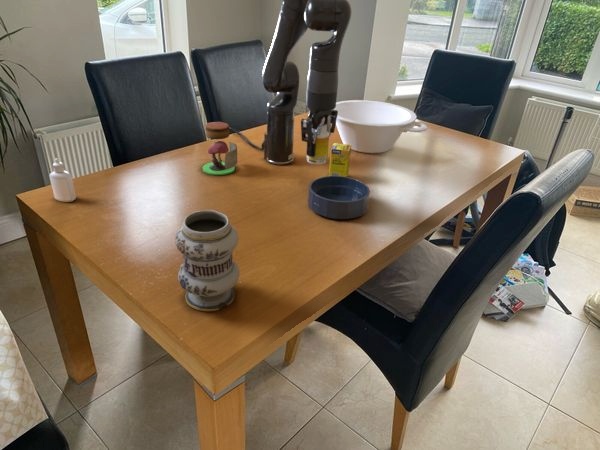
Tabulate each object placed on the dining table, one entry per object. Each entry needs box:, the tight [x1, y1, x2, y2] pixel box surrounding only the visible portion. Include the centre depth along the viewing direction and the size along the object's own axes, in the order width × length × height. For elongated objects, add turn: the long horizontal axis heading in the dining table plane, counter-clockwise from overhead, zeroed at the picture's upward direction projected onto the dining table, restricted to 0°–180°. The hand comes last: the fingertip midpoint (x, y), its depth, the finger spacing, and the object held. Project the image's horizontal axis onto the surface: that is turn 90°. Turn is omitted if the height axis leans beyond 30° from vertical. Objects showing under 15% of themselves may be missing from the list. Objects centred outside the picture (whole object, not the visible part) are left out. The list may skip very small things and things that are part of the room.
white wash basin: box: [333, 99, 428, 154], centre depth 173 cm, size 44×34×14 cm
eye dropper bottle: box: [49, 157, 77, 203], centre depth 123 cm, size 4×6×12 cm
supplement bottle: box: [305, 124, 330, 166], centre depth 118 cm, size 6×6×10 cm
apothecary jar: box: [174, 209, 241, 312], centre depth 88 cm, size 12×12×18 cm
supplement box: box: [328, 142, 352, 177], centre depth 145 cm, size 6×6×11 cm
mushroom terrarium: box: [202, 121, 238, 176], centre depth 145 cm, size 12×13×15 cm
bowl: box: [307, 175, 371, 220], centre depth 129 cm, size 17×17×6 cm
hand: (317, 152), depth 119 cm, fingers closed on supplement bottle, 5 cm apart
